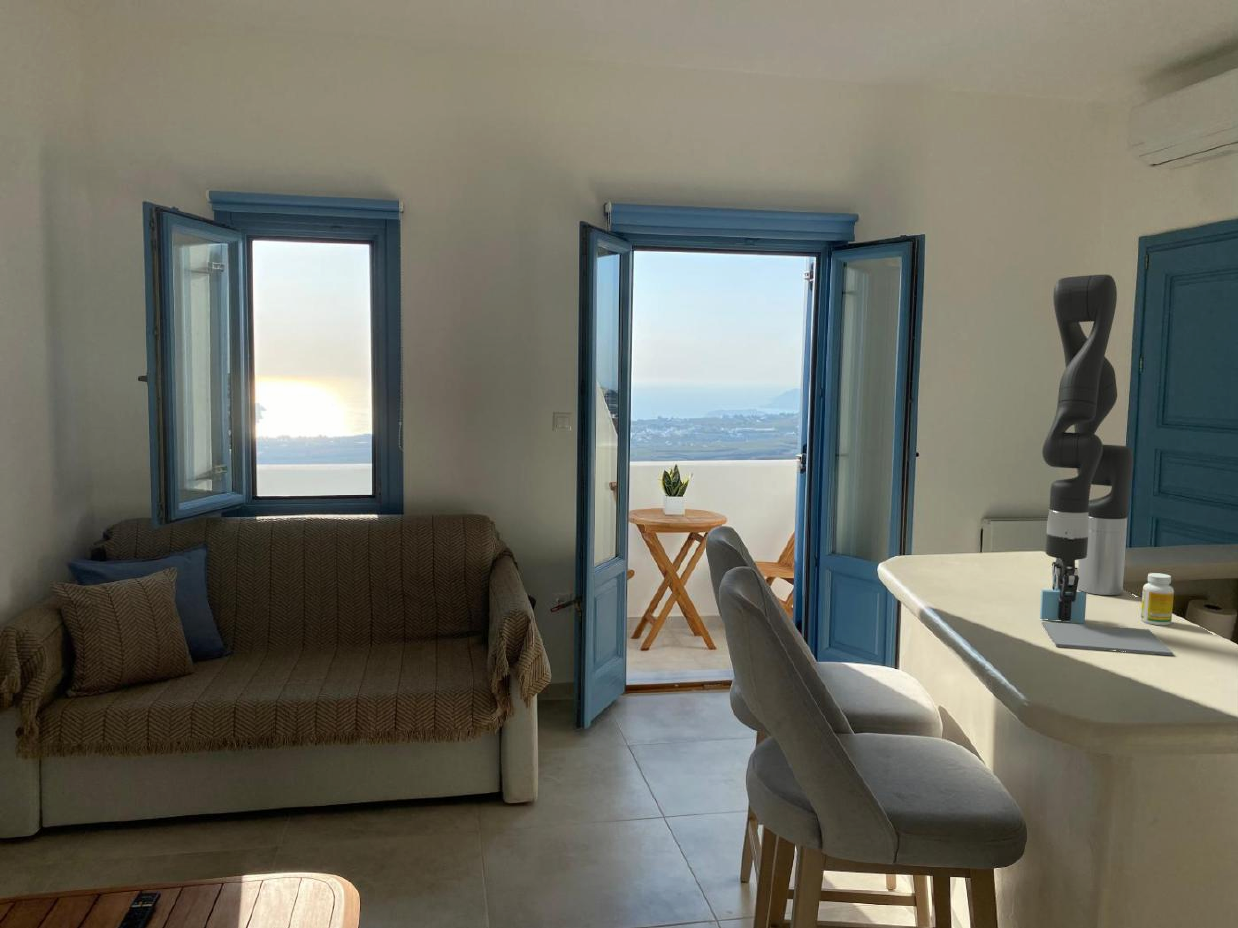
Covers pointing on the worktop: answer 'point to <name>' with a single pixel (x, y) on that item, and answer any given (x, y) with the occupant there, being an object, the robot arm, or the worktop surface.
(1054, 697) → the worktop surface
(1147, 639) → the mat
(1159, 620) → the supplement bottle
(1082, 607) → the block
